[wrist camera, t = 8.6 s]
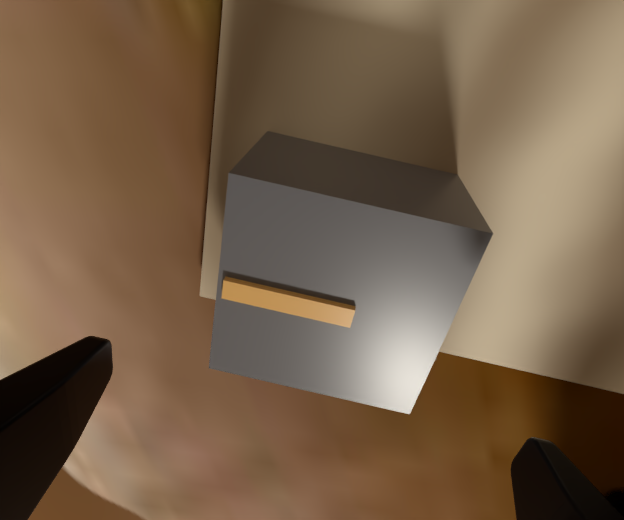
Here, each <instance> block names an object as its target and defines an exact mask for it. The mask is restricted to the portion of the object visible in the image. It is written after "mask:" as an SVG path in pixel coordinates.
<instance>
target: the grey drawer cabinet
mask: <svg viewBox="0 0 624 520" xmlns="http://www.w3.org/2000/svg"><path fill="white" fill-rule="evenodd" d="M492 235H493V232H492V231H491V229H490V227H489V226H488V224H487V222H486V221H485V219H484V217H483V216H482V214H481V212H480V211H479V209H478V207H477V206H476V204H475V202H474V201H473V199H472V197H471V196H470V194H469V192H468V191H467V189H466V187H465V186H464V184H463V182H462V181H461V179H460V177H459V176H458V174H453V173H449V172H444V171H440V170H436V169H431V168H427V167H423V166H418V165H414V164H410V163H405V162H401V161H396V160H392V159H388V158H383V157H379V156H375V155H370V154H366V153H362V152H357V151H353V150H348V149H344V148H340V147H335V146H331V145H327V144H322V143H318V142H314V141H309V140H305V139H300V138H296V137H292V136H287V135H283V134H279V133H274V132H270V131H267V132H266V133H265V134H264V135H263V136H262V137H261V138H260V140H259V141H258V142H257V143H256V144H255V145H254V146H253V147H252V148H251V149H250V150H249V151H248V152H247V154H246V155H245V156H244V157H243V158H242V159H241V160H240V161H239V162H238V163H237V164H236V165H235V166H234V168H233V169H232V170H231V171H230V172H229V174H228V184H227V194H226V204H225V214H224V223H223V233H222V243H221V253H220V263H219V273H218V283H217V293H216V303H215V312H214V322H213V332H212V342H211V352H210V362H209V368H211V369H215V370H219V371H224V372H228V373H232V374H237V375H241V376H245V377H250V378H254V379H258V380H263V381H267V382H271V383H276V384H280V385H285V386H289V387H293V388H298V389H302V390H306V391H311V392H315V393H319V394H324V395H328V396H332V397H337V398H341V399H345V400H350V401H354V402H358V403H363V404H367V405H371V406H376V407H380V408H384V409H389V410H393V411H397V412H402V413H406V414H410V412H411V410H412V408H413V406H414V404H415V402H416V400H417V397H418V395H419V393H420V391H421V389H422V387H423V384H424V382H425V380H426V378H427V376H428V374H429V371H430V369H431V367H432V365H433V363H434V361H435V358H436V356H437V354H438V352H439V350H440V348H441V345H442V343H443V341H444V339H445V337H446V335H447V332H448V330H449V328H450V326H451V324H452V322H453V320H454V317H455V315H456V313H457V311H458V309H459V307H460V304H461V302H462V300H463V298H464V296H465V294H466V291H467V289H468V287H469V285H470V283H471V281H472V278H473V276H474V274H475V272H476V270H477V268H478V265H479V263H480V261H481V259H482V257H483V255H484V252H485V250H486V248H487V246H488V244H489V242H490V240H491V237H492Z"/></svg>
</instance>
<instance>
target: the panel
mask: <svg viewBox="0 0 624 520" xmlns="http://www.w3.org/2000/svg"><path fill="white" fill-rule="evenodd" d="M267 131H270V132H274V133H279V134H283V135H287V136H292V137H296V138H300V139H305V140H309V141H314V142H318V143H322V144H327V145H331V146H335V147H340V148H344V149H348V150H353V151H357V152H362V153H366V154H370V155H375V156H379V157H383V158H388V159H392V160H396V161H401V162H405V163H410V164H414V165H418V166H423V167H427V168H431V169H436V170H440V171H444V172H449V173H453V174H458V176H459V177H460V179H461V181H462V182H463V184H464V186H465V187H466V189H467V191H468V192H469V194H470V196H471V197H472V199H473V201H474V202H475V204H476V206H477V207H478V209H479V211H480V212H481V214H482V216H483V217H484V219H485V221H486V222H487V224H488V226H489V227H490V229H491V231H492V232H493V235H492V237H491V240H490V242H489V244H488V246H487V248H486V250H485V252H484V255H483V257H482V259H481V261H480V263H479V265H478V268H477V270H476V272H475V274H474V276H473V278H472V281H471V283H470V285H469V287H468V289H467V291H466V294H465V296H464V298H463V300H462V302H461V304H460V307H459V309H458V311H457V313H456V315H455V317H454V320H453V322H452V324H451V326H450V328H449V330H448V332H447V335H446V337H445V339H444V341H443V343H442V345H441V348H440V350H439V351H440V352H444V353H448V354H453V355H457V356H461V357H466V358H470V359H474V360H479V361H483V362H487V363H492V364H496V365H500V366H505V367H509V368H513V369H518V370H522V371H526V372H531V373H535V374H539V375H543V376H548V377H552V378H556V379H561V380H565V381H569V382H574V383H578V384H582V385H587V386H591V387H595V388H600V389H604V390H608V391H613V392H617V393H621V394H624V0H223V7H222V20H221V32H220V45H219V58H218V70H217V83H216V96H215V108H214V121H213V134H212V146H211V159H210V172H209V184H208V197H207V210H206V222H205V235H204V248H203V260H202V273H201V286H200V296H202V297H206V298H210V299H215V300H216V293H217V283H218V273H219V263H220V253H221V243H222V233H223V223H224V214H225V204H226V194H227V184H228V174H229V172H230V171H231V170H232V169H233V168H234V166H235V165H236V164H237V163H238V162H239V161H240V160H241V159H242V158H243V157H244V156H245V155H246V154H247V152H248V151H249V150H250V149H251V148H252V147H253V146H254V145H255V144H256V143H257V142H258V141H259V140H260V138H261V137H262V136H263V135H264V134H265V133H266V132H267Z"/></svg>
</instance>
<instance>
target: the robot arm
mask: <svg viewBox="0 0 624 520" xmlns="http://www.w3.org/2000/svg"><path fill="white" fill-rule="evenodd" d="M112 370H113V363H112V346H111V342H110V341H109V340H107V339H104V338H99V337H95V336H88V337H85V338H83V339H81V340H79V341H77V342H75V343H73V344H71V345H69V346H67V347H65V348H63V349H61V350H59V351H57V352H55V353H53V354H51V355H49V356H47V357H45V358H43V359H41V360H39V361H37V362H35V363H33V364H31V365H29V366H27V367H25V368H23V369H21V370H19V371H17V372H15V373H13V374H11V375H9V376H7V377H5V378H3V379H1V380H0V520H28V518H29V517H30V515H31V514H32V512H33V511H34V509H35V508H36V506H37V504H38V503H39V501H40V500H41V498H42V497H43V495H44V494H45V492H46V491H47V489H48V488H49V486H50V485H51V483H52V482H53V480H54V479H55V477H56V476H57V474H58V472H59V471H60V469H61V468H62V466H63V465H64V463H65V462H66V460H67V459H68V457H69V455H70V454H71V452H72V451H73V449H74V447H75V446H76V444H77V442H78V440H79V438H80V436H81V434H82V432H83V431H84V429H85V427H86V425H87V423H88V421H89V419H90V417H91V415H92V413H93V411H94V409H95V407H96V405H97V404H98V402H99V400H100V398H101V396H102V394H103V392H104V390H105V388H106V386H107V384H108V382H109V380H110V378H111V375H112ZM511 478H512V486H513V494H514V502H515V510H516V519H517V520H624V493H621V492H618V493H613V494H611V495H610V496H608V497H607V498H605V497H604V496H603V495H602V494H601V493H600V492H599V491H598V490H597V489H596V488H595V487H594V485H593V484H592V483H591V482H590V481H589V480H588V479H587V478H586V477H585V476H584V475H583V474H582V473H581V472H580V471H579V469H578V468H577V467H576V466H575V465H574V464H573V463H572V462H571V461H570V460H569V459H568V458H567V457H566V456H565V455H564V454H563V452H562V451H561V450H560V449H559V448H558V447H557V446H556V445H555V444H554V443H552V442H551V441H548V440H544V439H539V438H535V437H531V438H529V439H528V440H527V441H526V442H525V444H524V445H523V446H522V448H521V449H520V451H519V452H518V453H517V455H516V456H515V458H514V459H513V461H512V464H511Z"/></svg>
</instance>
